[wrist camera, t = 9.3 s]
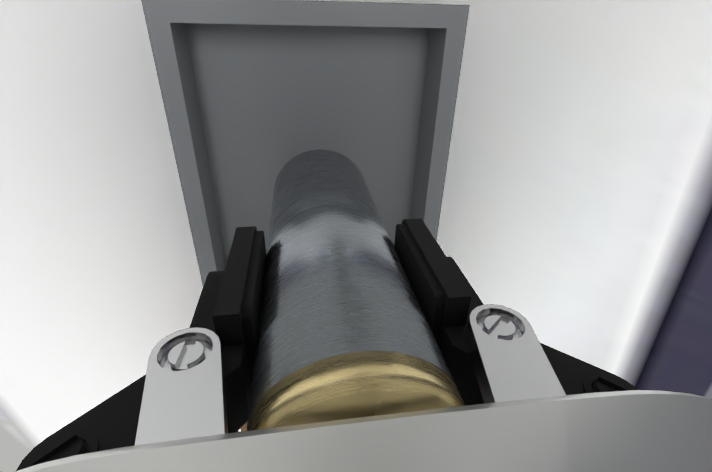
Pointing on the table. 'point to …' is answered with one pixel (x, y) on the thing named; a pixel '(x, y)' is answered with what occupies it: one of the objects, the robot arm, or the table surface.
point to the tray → (304, 103)
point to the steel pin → (338, 308)
